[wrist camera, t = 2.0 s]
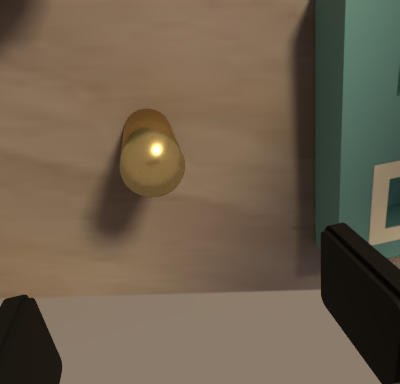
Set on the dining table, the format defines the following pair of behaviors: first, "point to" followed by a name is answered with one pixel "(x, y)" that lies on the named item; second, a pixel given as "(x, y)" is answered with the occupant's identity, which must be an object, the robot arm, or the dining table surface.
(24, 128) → the dining table surface
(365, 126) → the socket block
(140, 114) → the brass pin
